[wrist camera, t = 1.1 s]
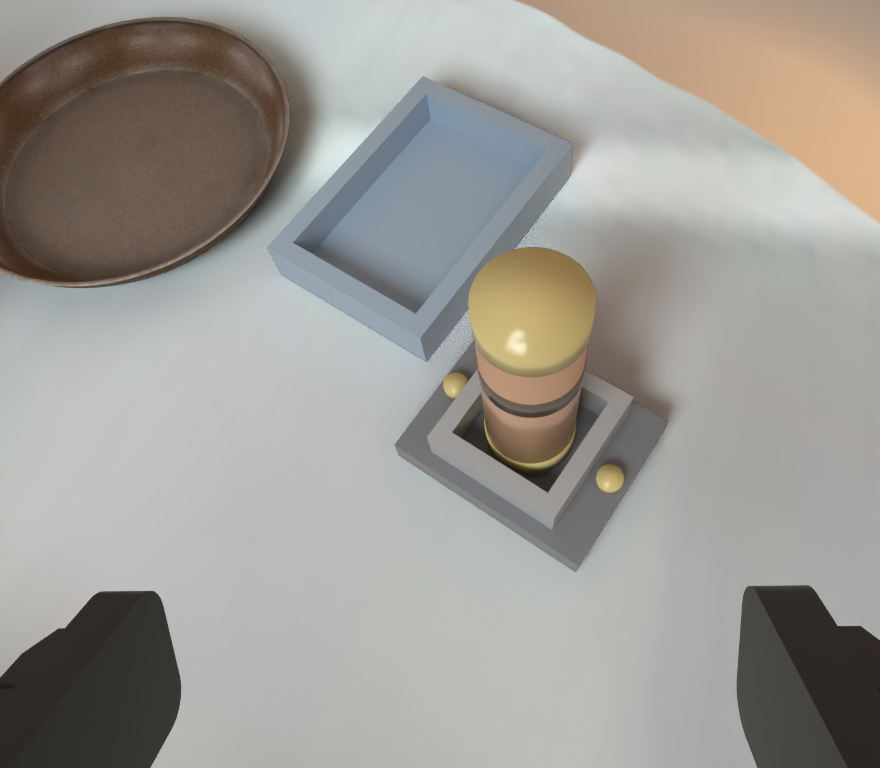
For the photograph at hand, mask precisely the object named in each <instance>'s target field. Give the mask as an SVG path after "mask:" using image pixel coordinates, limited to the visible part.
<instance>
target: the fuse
mask: <svg viewBox="0 0 880 768" xmlns="http://www.w3.org/2000/svg"><path fill="white" fill-rule="evenodd" d="M468 307H469V315H470V322H471V330H472V336H473V339H474V342H475V349H476V360H477V368H478V375H479V381H480V387H481V394H482V402H483V409H484V417H485V419H484V425H485V433H486V440H487V444H488V448H489V450H490V452H491V454H492V455H493V457H494V458H495V459H496V460H497V461H498V462H500V463H501V464H503V465H505V466H506V467H508V468H509V469H511V470H512V471H514V472H516V473H518V474H522V475H539V474H543V473H546V472H549V471H551V470H553V469H555V468H556V467H558V466H559V465H560V464H561V463H562V462H563V461H564V460H565V459H566V458H567V456H568V455H569V453H570V451H571V448H572V446H573V442H574V436H575V430H576V417H577V411H578V405H579V399H580V393H581V387H582V382H583V378H584V372H585V366H586V356H587V350H588V344H589V341H590V338H591V334H592V329H593V323H594V317H595V312H596V292H595V288H594V285H593V283H592V280H591V279H590V277H589V275H588V274H587V272H586V271H585V270H584V268H583V267H582V266H581V265H580V264H578V263H577V262H576V261H575V260H573V259H572V258H570V257H569V256H567V255H565V254H563V253H560V252H558V251H555V250H551V249H547V248H539V247H526V248H519V249H515V250H511V251H508V252H506V253H503V254H501V255H499V256H497V257H496V258H494V259H493V260H491V261H490V262H488V263H487V264H486V265H485V266H484V267H483V268H482V269H481V270H480V271H479V273H478V274H477V276H476V277H475V279H474V281H473V283H472V285H471V288H470V292H469V297H468Z"/></svg>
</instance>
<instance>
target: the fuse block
mask: <svg viewBox="0 0 880 768" xmlns="http://www.w3.org/2000/svg"><path fill="white" fill-rule="evenodd" d="M633 398H634V397H633V396H631V395H629V394H627V393H626V392H624V391H622V390H620V389H618V388H617V387H615V386H613V385H611V384H609V383H608V382H606V381H604V380H602V379H601V378H599V377H597V376H595V375H593V374H592V373H590V372H588V371H586V370H585V372H584V378H583V382H582V387H581V393H580V399H579V405H578V411H577V417H576V430H575V436H574V442H573V446H572V448H571V451H570V453H569V455H568V456H567V458H566V459H565V460H564V461H563V462H562V463H561V464H560V465H559V466H558V467H556V468H555V469H553V470H551V471H549V472H546V473H543V474H539V475H522V474H518V473H516V472H514V471H512V470H511V469H509V468H508V467H506V466H505V465H503V464H501V463H500V462H498V461H497V460H496V459H495V458H494V457H493V455H492V454H491V452H490V450H489V448H488V444H487V440H486V433H485V425H484V419H485V417H484V409H483V402H482V394H481V387H480V381H479V375H478V368H477V360H476V349H475V342H474V341H473V342H472V344H471V345H470V346H469V348H468V349H467V350H466V352H465V353H464V354H463V355H462V357H461V358H460V359H459V361H458V362H457V363H456V365H455V366H454V367H453V369H452V370H451V371H450V373H449V374H448V375H447V376H446V378H445V379H444V381H443V382H442V383H441V385H440V386H439V387H438V388H437V390H436V391H435V392H434V394H433V395H432V396H431V398H430V399H429V400H428V402H427V403H426V404H425V406H424V407H423V408H422V410H421V411H420V412H419V414H418V415H417V416H416V417H415V419H414V420H413V421H412V423H411V424H410V425H409V427H408V428H407V429H406V431H405V432H404V433H403V435H402V436H401V437H400V439H399V440H398V441H397V443H396V444H395V447H396V449H397V452H398V454H399V456H401V457H402V458H404V459H405V460H407V461H408V462H410V463H411V464H413V465H414V466H416V467H417V468H419V469H420V470H422V471H423V472H425V473H426V474H428V475H429V476H431V477H432V478H434V479H435V480H437V481H438V482H440V483H441V484H443V485H445V486H446V487H448V488H449V489H451V490H452V491H454V492H455V493H457V494H458V495H460V496H461V497H463V498H464V499H466V500H467V501H469V502H470V503H472V504H473V505H475V506H476V507H478V508H479V509H481V510H482V511H484V512H485V513H487V514H488V515H490V516H491V517H493V518H494V519H496V520H497V521H499V522H500V523H502V524H503V525H505V526H507V527H508V528H510V529H511V530H513V531H514V532H516V533H517V534H519V535H520V536H522V537H523V538H525V539H526V540H528V541H529V542H531V543H532V544H534V545H535V546H537V547H538V548H540V549H541V550H543V551H544V552H546V553H547V554H549V555H550V556H552V557H553V558H555V559H556V560H558V561H559V562H561V563H562V564H564V565H565V566H567V567H569V568H570V569H572V570H573V571H575V572H576V571H577V569H578V567H579V566H580V564H581V563H582V561H583V559H584V558H585V556H586V555H587V553H588V551H589V550H590V548H591V547H592V545H593V544H594V542H595V540H596V539H597V537H598V536H599V534H600V532H601V531H602V529H603V528H604V526H605V524H606V523H607V521H608V520H609V518H610V516H611V515H612V513H613V512H614V510H615V509H616V507H617V505H618V504H619V502H620V501H621V499H622V497H623V496H624V494H625V493H626V491H627V489H628V488H629V486H630V485H631V483H632V482H633V480H634V478H635V477H636V475H637V474H638V472H639V470H640V469H641V467H642V466H643V464H644V462H645V461H646V459H647V458H648V456H649V455H650V453H651V451H652V450H653V448H654V447H655V445H656V443H657V442H658V440H659V439H660V437H661V435H662V434H663V432H664V430H665V428H666V426H667V423H668V421H667V420H666V419H664V418H662V417H660V416H658V415H657V414H655V413H653V412H651V411H649V410H648V409H646V408H644V407H642V406H641V405H639V404H637V403H635V402H633Z"/></svg>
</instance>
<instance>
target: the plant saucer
mask: <svg viewBox="0 0 880 768" xmlns="http://www.w3.org/2000/svg"><path fill="white" fill-rule="evenodd" d="M289 119H290V111H289V101H288V96H287V91H286V88H285V85H284V82H283V80H282V78H281V76H280V74H279V72H278V70H277V68H276V67H275V65H274V64H273V62H272V61H271V60H270V59H269V57H268V56H267V55H266V54H265V53H264V52H263V51H262V50H261V49H259V48H258V47H257V46H256V45H255V44H254V43H252V42H251V41H250V40H248V39H247V38H245V37H243V36H242V35H240V34H237V33H235V32H233V31H231V30H229V29H227V28H224V27H222V26H219V25H216V24H213V23H209V22H204V21H200V20H193V19H188V18H176V17H152V18H143V19H134V20H128V21H121V22H117V23H113V24H109V25H105V26H101V27H98V28H95V29H92V30H89V31H86V32H83V33H81V34H78V35H75V36H73V37H70V38H68V39H66V40H64V41H62V42H59V43H58V44H56V45H54V46H52V47H50V48H48V49H46V50H44V51H43V52H41V53H39V54H38V55H36V56H35V57H33V58H31V59H30V60H29V61H27V62H25V63H24V64H22V65H21V66H20V67H18V68H17V69H15V70H14V71H13V72H12V73H11V74H10V75H8V76H7V77H6V78H5V79H4V80H3V81H2V82H1V83H0V272H2V273H4V274H6V275H8V276H11V277H14V278H17V279H19V280H23V281H27V282H31V283H36V284H43V285H49V286H56V287H67V288H94V287H106V286H114V285H120V284H126V283H131V282H136V281H139V280H143V279H147V278H150V277H153V276H156V275H159V274H162V273H165V272H167V271H170V270H172V269H174V268H176V267H179V266H181V265H183V264H185V263H187V262H189V261H191V260H193V259H194V258H196V257H198V256H199V255H201V254H203V253H204V252H206V251H207V250H209V249H210V248H212V247H213V246H214V245H216V244H217V243H218V242H220V241H221V240H222V239H223V238H225V237H226V236H227V235H228V234H229V233H230V232H232V231H233V230H234V229H235V228H236V227H237V226H238V225H239V224H240V223H241V222H242V221H243V220H244V219H245V218H246V216H247V215H248V214H249V213H250V212H251V211H252V209H253V208H254V207H255V205H256V204H257V203H258V201H259V200H260V199H261V197H262V196H263V194H264V193H265V191H266V189H267V188H268V186H269V184H270V182H271V180H272V178H273V176H274V174H275V172H276V170H277V168H278V165H279V163H280V161H281V158H282V155H283V152H284V148H285V145H286V141H287V137H288V131H289Z"/></svg>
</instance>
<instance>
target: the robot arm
mask: <svg viewBox="0 0 880 768" xmlns="http://www.w3.org/2000/svg"><path fill="white" fill-rule="evenodd" d="M180 699H181V680H180V675H179V671H178V666H177V662H176V658H175V654H174V649H173V645H172V641H171V637H170V632H169V628H168V624H167V620H166V615H165V611H164V607H163V604H162V601H161V599H160V597H159V595H158V594H157V593H155V592H153V591H107V592H99V593H97V594H95V595H94V596H93V597H92V598H91V599H90V600H89V601H88V602H87V604H86V605H85V606H84V607H83V608H82V609H81V610H80V612H79V613H78V614H77V615H76V616H75V617H74V619H73V620H72V621H71V622H70V623H69V624H68V625H67V627H66V628H65V629H57V630H56V631H54V632H53V633H52V634H50V635H49V636H47V637H46V638H44V639H43V640H41V641H40V642H38V643H37V644H36V645H34V646H33V647H31V648H30V649H28V650H27V651H25V652H24V653H22V654H21V655H20V657H19V658H18V659H17V660H16V661H15V662H14V663H13V664H12V665H11V666H10V668H9V669H8V670H7V671H6V672H5V673H4V674H3V675H2V676H1V677H0V768H150V767H151V765H152V764H153V762H154V760H155V758H156V756H157V755H158V753H159V751H160V749H161V747H162V745H163V744H164V742H165V740H166V738H167V736H168V735H169V733H170V731H171V729H172V727H173V725H174V723H175V720H176V718H177V714H178V710H179V706H180ZM737 699H738V707H739V713H740V718H741V723H742V727H743V730H744V733H745V736H746V739H747V741H748V744H749V747H750V749H751V752H752V754H753V757H754V760H755V762H756V765H757V768H880V640H878V639H877V638H876V637H874V636H873V635H872V634H870V633H869V632H868V631H866V630H865V629H864V628H862V627H861V626H837V624H836V623H835V621H834V620H833V618H832V617H831V615H830V614H829V612H828V610H827V609H826V607H825V606H824V604H823V603H822V601H821V600H820V598H819V596H818V595H817V593H816V592H815V591H814V589H813V588H812V587H810V586H808V585H804V586H748V587H747V588H746V589H745V592H744V595H743V602H742V615H741V629H740V643H739V657H738V670H737Z"/></svg>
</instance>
